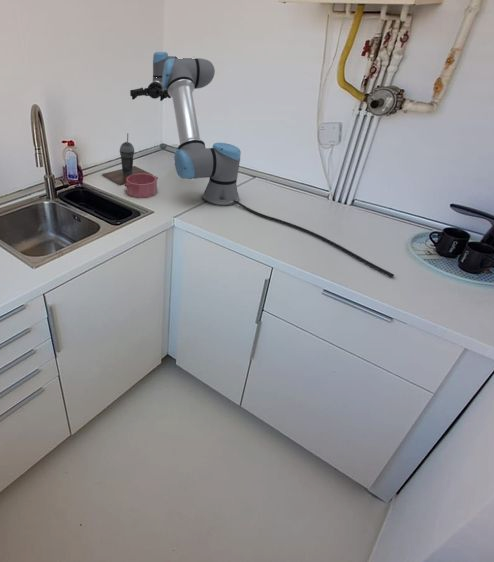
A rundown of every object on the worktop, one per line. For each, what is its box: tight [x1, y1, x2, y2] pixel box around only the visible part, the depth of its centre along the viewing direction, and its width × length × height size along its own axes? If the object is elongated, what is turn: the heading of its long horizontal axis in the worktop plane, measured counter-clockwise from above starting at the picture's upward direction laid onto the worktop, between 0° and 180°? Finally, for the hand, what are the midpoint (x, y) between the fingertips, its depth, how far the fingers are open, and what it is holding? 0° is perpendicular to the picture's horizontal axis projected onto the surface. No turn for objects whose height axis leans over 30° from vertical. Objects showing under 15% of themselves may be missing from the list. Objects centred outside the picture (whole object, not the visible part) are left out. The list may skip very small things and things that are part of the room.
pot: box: [124, 173, 159, 199], centre depth 170 cm, size 14×17×6 cm
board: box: [102, 165, 153, 186], centre depth 187 cm, size 16×20×1 cm
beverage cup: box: [119, 133, 135, 176], centre depth 181 cm, size 7×7×20 cm
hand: (146, 97), depth 174 cm, fingers open, 13 cm apart
